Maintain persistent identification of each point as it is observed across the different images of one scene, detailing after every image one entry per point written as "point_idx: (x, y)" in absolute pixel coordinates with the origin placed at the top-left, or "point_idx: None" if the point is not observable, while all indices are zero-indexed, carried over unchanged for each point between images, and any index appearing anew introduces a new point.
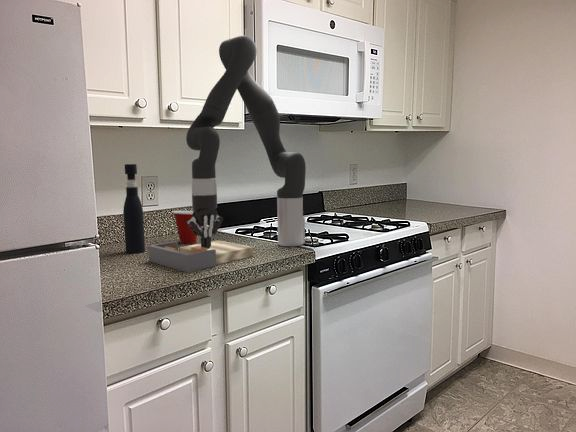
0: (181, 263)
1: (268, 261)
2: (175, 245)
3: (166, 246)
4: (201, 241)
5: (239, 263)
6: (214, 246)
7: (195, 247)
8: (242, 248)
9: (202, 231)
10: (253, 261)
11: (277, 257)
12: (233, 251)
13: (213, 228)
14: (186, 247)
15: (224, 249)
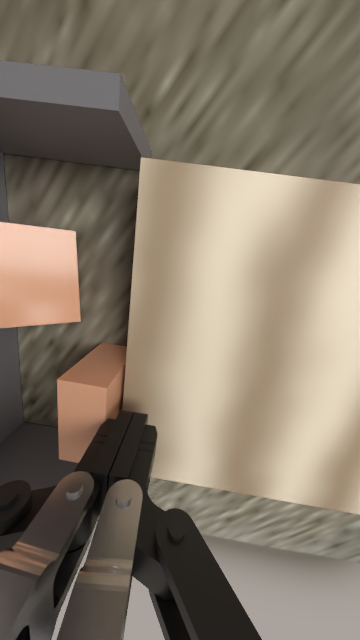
0: None
1: (279, 544)
2: (107, 129)
3: (21, 117)
4: (86, 454)
5: (202, 488)
6: (287, 347)
7: (69, 406)
8: (309, 494)
9: (62, 538)
10: (253, 509)
11: (351, 542)
12: (234, 490)
13: (208, 586)
14: (166, 208)
15: (244, 440)
